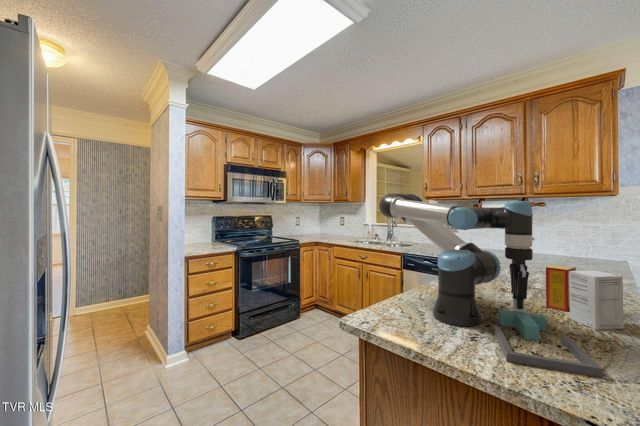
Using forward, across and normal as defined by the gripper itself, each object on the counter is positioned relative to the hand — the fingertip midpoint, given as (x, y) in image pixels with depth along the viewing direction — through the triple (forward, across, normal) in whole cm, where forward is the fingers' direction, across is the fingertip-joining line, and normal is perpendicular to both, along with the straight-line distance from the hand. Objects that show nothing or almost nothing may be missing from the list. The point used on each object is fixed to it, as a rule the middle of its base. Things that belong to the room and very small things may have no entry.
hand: (518, 317), depth 93 cm
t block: (+2, -7, 0) cm, 7 cm away
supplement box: (+2, +8, -23) cm, 25 cm away
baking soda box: (+2, +24, -20) cm, 32 cm away
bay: (+2, -20, 0) cm, 20 cm away
